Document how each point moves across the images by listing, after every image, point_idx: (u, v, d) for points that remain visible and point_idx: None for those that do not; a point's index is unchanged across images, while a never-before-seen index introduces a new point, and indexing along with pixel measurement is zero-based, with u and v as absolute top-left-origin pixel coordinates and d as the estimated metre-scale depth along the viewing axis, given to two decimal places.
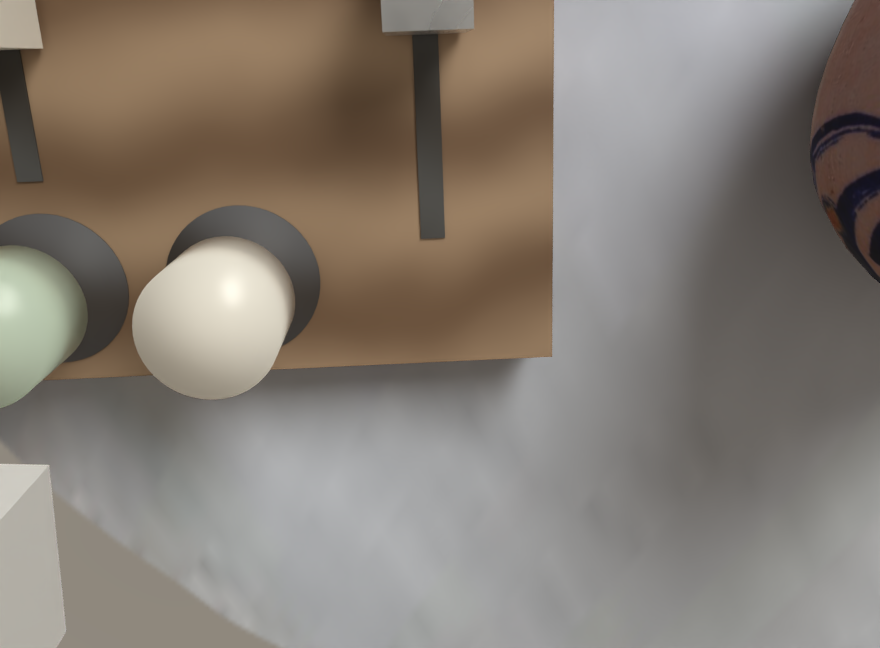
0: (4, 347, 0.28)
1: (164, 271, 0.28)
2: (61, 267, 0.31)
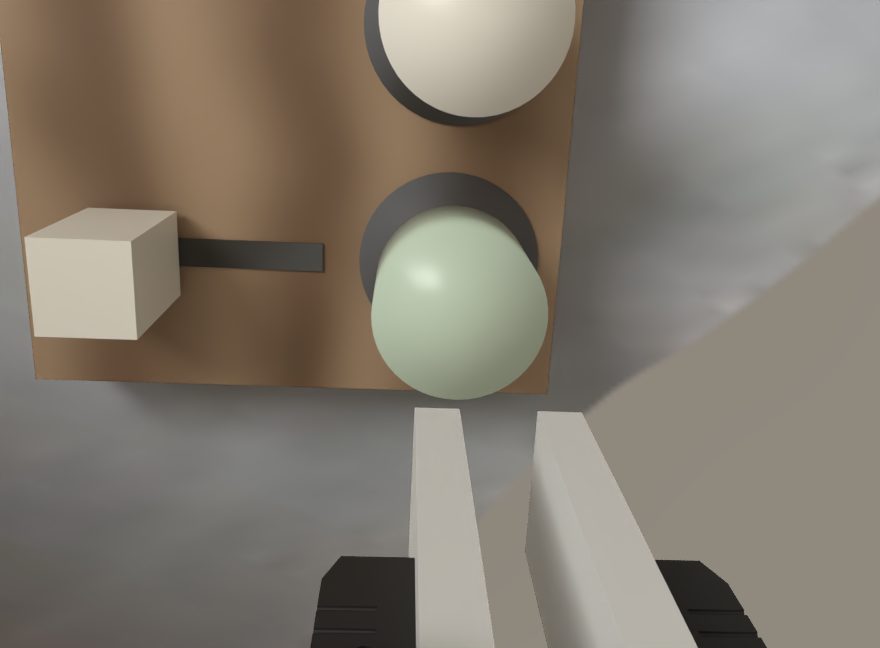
0: (470, 279, 0.23)
1: (389, 58, 0.21)
2: (405, 223, 0.26)
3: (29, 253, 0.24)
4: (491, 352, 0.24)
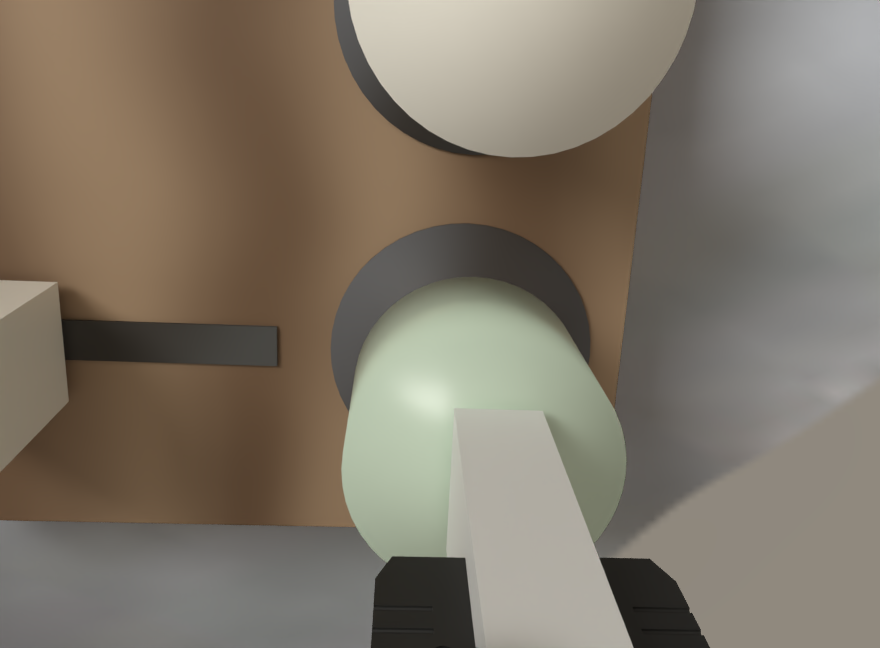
0: None
1: (366, 53, 0.12)
2: (397, 304, 0.18)
3: None
4: None
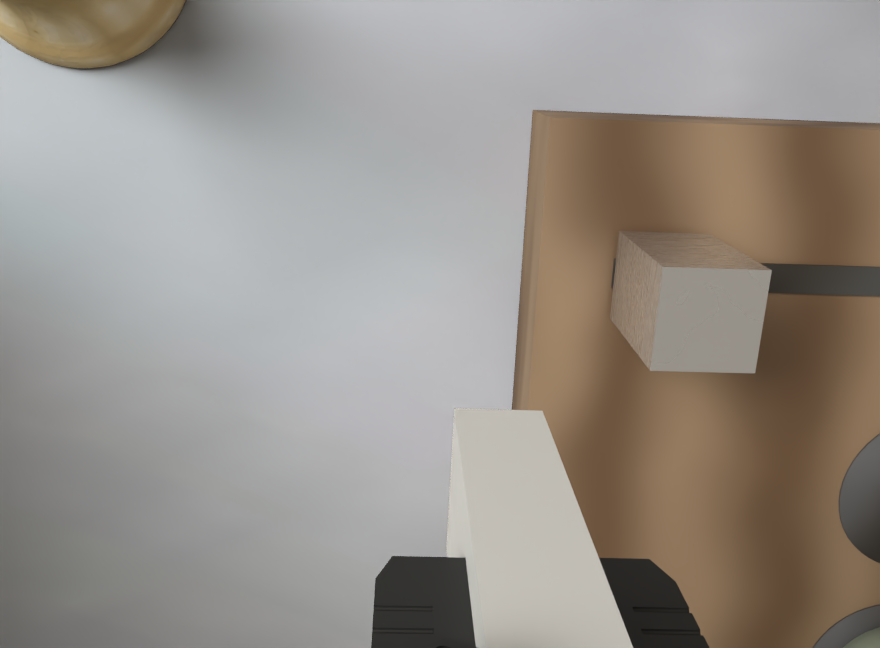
0: None
1: None
2: (859, 641, 0.32)
3: None
4: None
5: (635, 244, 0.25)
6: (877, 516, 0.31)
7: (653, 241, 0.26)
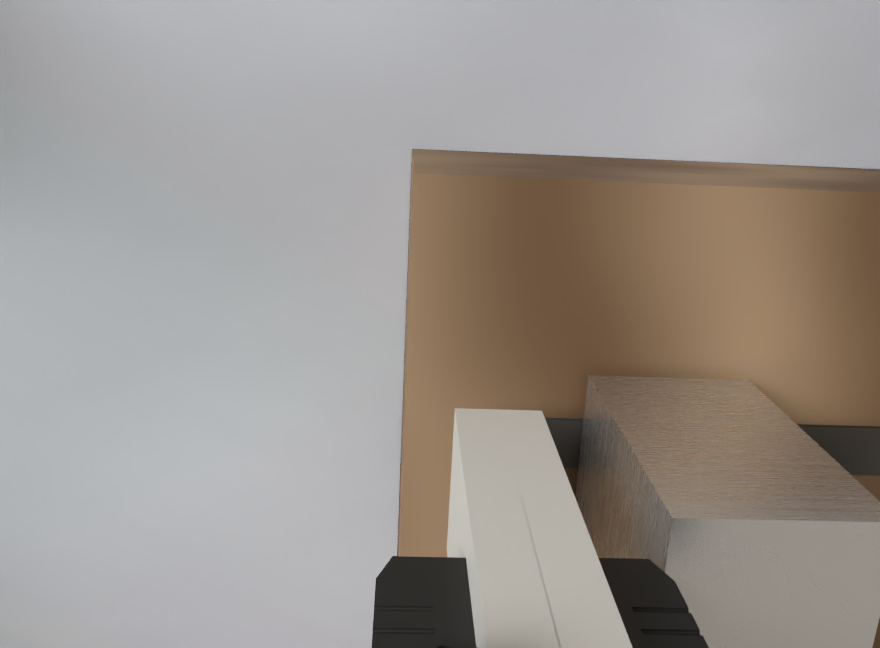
0: None
1: None
2: None
3: None
4: None
5: (616, 422, 0.13)
6: None
7: (650, 410, 0.14)
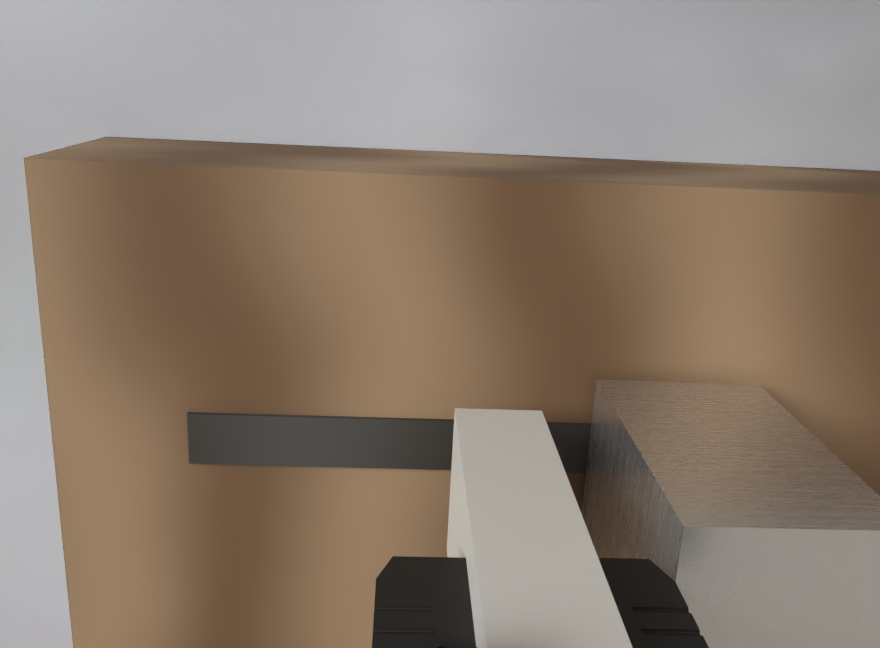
0: None
1: None
2: None
3: None
4: None
5: (625, 428, 0.13)
6: None
7: (659, 415, 0.14)
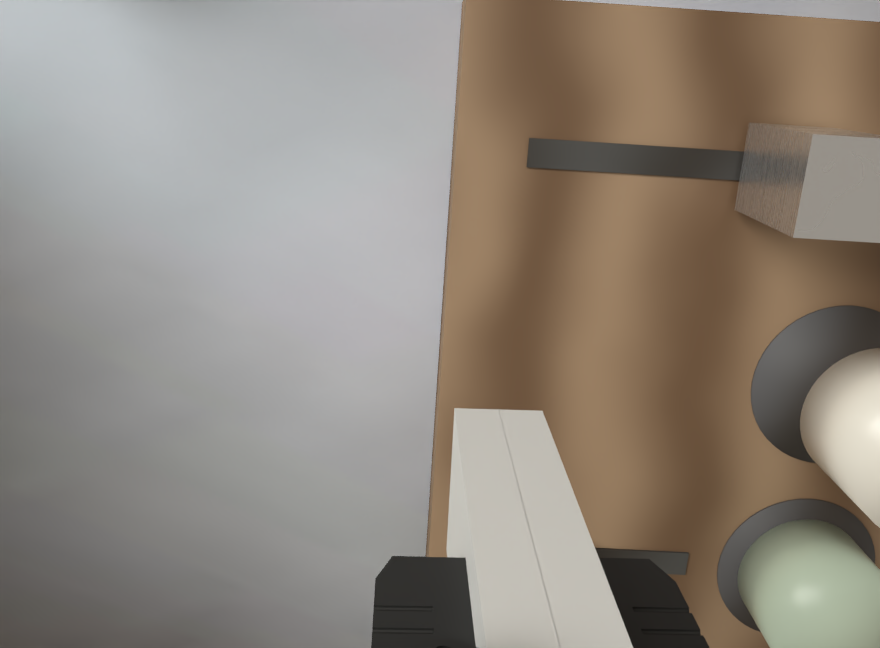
0: (859, 612, 0.30)
1: (859, 498, 0.26)
2: (770, 533, 0.33)
3: None
4: None
5: (772, 127, 0.27)
6: (789, 408, 0.32)
7: (787, 127, 0.27)
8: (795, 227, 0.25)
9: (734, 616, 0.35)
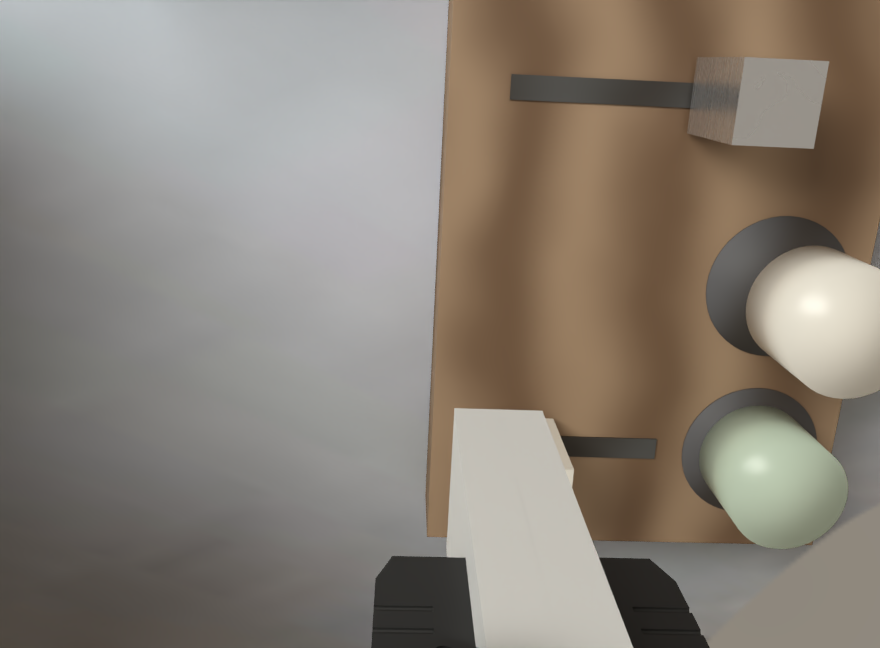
0: (799, 473, 0.35)
1: (792, 362, 0.31)
2: (726, 418, 0.38)
3: None
4: (807, 519, 0.36)
5: (715, 57, 0.32)
6: (739, 308, 0.37)
7: None
8: (733, 136, 0.30)
9: (697, 495, 0.40)
